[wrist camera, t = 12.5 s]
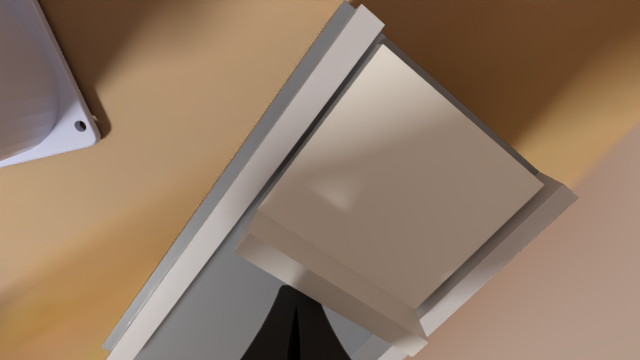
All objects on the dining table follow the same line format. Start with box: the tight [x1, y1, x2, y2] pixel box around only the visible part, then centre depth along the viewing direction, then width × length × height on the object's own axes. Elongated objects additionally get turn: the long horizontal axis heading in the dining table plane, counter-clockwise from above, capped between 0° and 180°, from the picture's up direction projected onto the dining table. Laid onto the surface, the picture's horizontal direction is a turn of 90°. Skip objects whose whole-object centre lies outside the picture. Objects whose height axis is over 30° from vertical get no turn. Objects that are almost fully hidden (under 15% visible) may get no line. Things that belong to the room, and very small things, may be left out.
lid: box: [234, 44, 544, 357], centre depth 11 cm, size 7×7×2 cm
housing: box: [102, 0, 578, 360], centre depth 15 cm, size 16×10×7 cm, turn 143°
